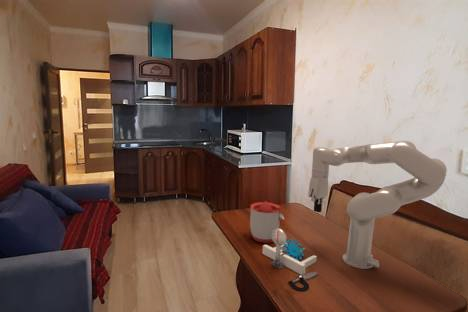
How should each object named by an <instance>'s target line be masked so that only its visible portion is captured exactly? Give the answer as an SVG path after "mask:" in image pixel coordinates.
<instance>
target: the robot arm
mask: <svg viewBox="0 0 468 312" xmlns="http://www.w3.org/2000/svg"><path fill="white" fill-rule="evenodd" d="M350 163H351V164H352V163H366V164H369V165H382V164H384V165H385V164H395V165H397V166H399V168H401V169H402V170H403V171H405V172H407V173H408V174H410V176H412V177H413V178H410V179H407V180H404V181H401V182H398V183H395V184H391V185H385V186H383V187H381V188H380V189H379V190H377V191H375V192H372V193H369V192H359V193H358V194H356V195H354V197H352V198H351V199H350V200H349V201H348V202H347V205H346V212H347V215H348V216H349V217H350V221H349V222H350V223H349V227H348V228H349V230H348V239H347V249H346V252H345V253H344V254H343V255H342V261H343V262H344V263H345V264H347V265H348V266H350V267H353V268H356V269H360V270H369V269H371V268H373V267H375V268H379V267H380V262H379V260H377V259H374V257H373V254H372V246H373V245H372V244H373V243H372V242H373V236H374V235H373V234H374V228H375V222H376V221H375V220H376V219H377V218H382V217H386V216H390V215H392V214H394V213H396V212H397V211H398V210H399V209H400V208H401V206H404V205H407V204H411V203H415V202H417V201H420V200H424V199H426V198H429V197H431V196H433V195H434V194H436V192H438V190H440V188H441V187H443V184H444V182H445V180H446V176H447V170H448V169H447V166H446V163H444V161H442V160H441V159H439V158H431V157H429V156H428V155H426V154H424V153H423V152H422V151H420V150H419V149H417V147H416V145H415V143H413V142H411V141H409V140H399V141H389V142H380V143H371V144H368V143H367V144H364V145H357V146H356V145H355V146H346V147H344V146H343V147H338V148H334V149H330V148H328V147H320V146H319V147H314V148H313V151H312V164H311V165H312V166H311V177H310V181H309V185H308V195H307V197H309V198H311V199H310V201H311V202H313V211H314V212H316V213H321V212H322V210H323V209H322V207H323V203H324V199H326V198H327V196H328V194H329V175H330V173H329V171H330V166H333V167H339V166H341V165H344V164H350Z"/></svg>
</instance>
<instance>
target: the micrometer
mask: <svg viewBox="0 0 468 312" xmlns="http://www.w3.org/2000/svg"><path fill="white" fill-rule="evenodd" d="M317 275H318V272H317V271H310V272H307V273H305V274H303V275H301V274H299V276H297V277H296V279H293V280H288V281H287V283H288V285H290V287H291V288H292V289H293V290H294V291H296V292H303V293H304V292H307V291H308V290H309V289H310V285H309V283H308V282H307V281H308V280H310V279H313V278H315V277H316V276H317ZM295 282H299V283H300V284H302V287H299V286H297V284H296V283H295Z"/></svg>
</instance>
